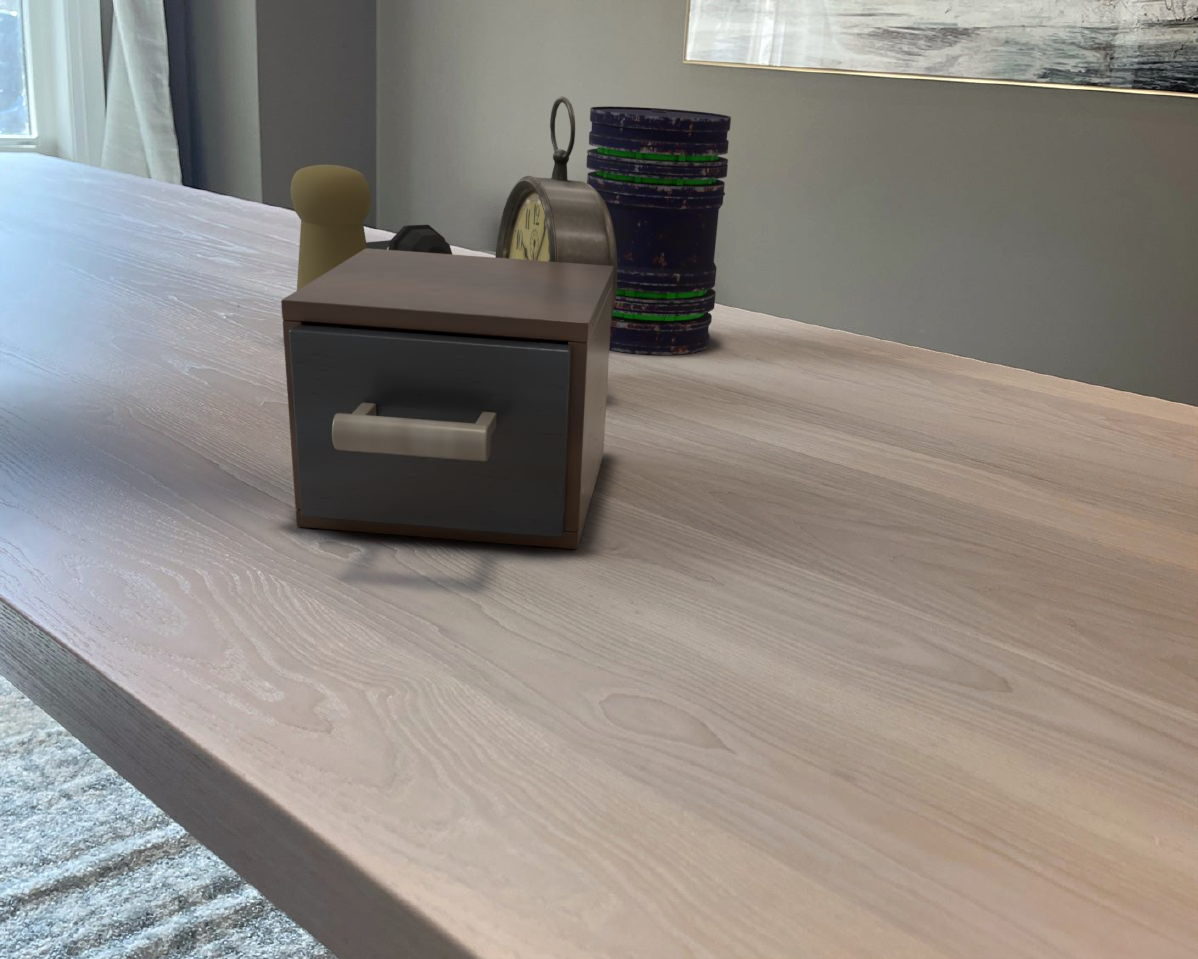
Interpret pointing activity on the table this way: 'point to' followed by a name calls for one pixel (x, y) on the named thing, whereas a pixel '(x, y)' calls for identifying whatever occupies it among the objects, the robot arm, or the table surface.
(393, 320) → the cabinet
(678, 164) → the storage jar
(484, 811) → the table surface
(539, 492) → the drawer
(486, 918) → the table surface
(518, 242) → the alarm clock
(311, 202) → the cork
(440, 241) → the microphone
